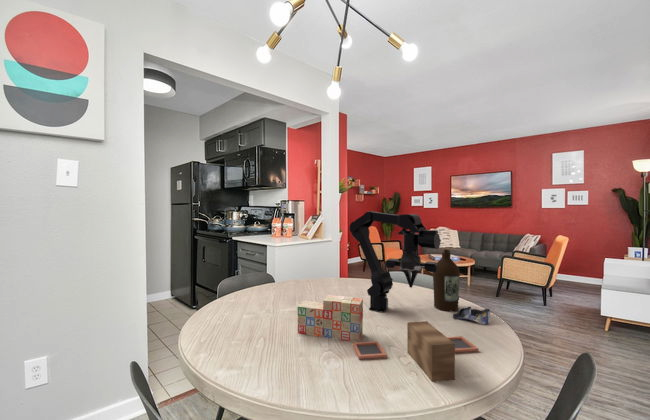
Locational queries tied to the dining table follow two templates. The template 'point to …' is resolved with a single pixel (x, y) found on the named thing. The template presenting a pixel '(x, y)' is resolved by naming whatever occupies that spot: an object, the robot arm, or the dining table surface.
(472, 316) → the snack package
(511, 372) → the dining table surface
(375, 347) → the tile
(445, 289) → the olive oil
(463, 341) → the tile
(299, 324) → the stack of blocks
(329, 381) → the dining table surface
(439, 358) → the walnut brick
